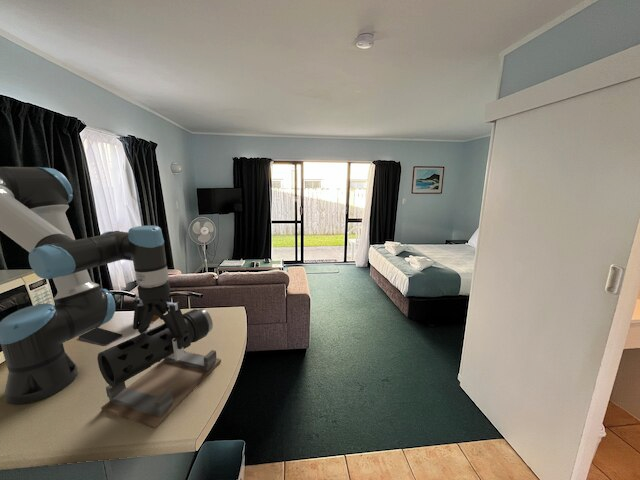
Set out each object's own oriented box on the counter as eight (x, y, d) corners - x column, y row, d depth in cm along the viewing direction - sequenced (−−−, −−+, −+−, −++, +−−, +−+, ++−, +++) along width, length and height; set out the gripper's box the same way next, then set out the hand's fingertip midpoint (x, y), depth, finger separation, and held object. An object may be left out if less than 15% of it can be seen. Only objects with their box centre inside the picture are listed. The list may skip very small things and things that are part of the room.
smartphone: (105, 345, 101) (76, 337, 105) (105, 348, 101) (77, 339, 105) (124, 334, 107) (97, 327, 112) (124, 337, 108) (97, 329, 112)
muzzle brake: (101, 382, 72) (93, 346, 69) (197, 331, 95) (194, 303, 92) (118, 396, 67) (111, 359, 64) (216, 339, 90) (213, 310, 88)
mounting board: (101, 410, 73) (97, 393, 72) (177, 352, 97) (175, 338, 96) (155, 428, 68) (152, 409, 67) (221, 361, 92) (219, 347, 91)
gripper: (108, 283, 75) (122, 355, 80) (176, 293, 69) (187, 370, 74) (133, 274, 82) (145, 340, 87) (198, 282, 76) (206, 353, 81)
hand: (164, 354), depth 80 cm, fingers closed on muzzle brake, 10 cm apart
